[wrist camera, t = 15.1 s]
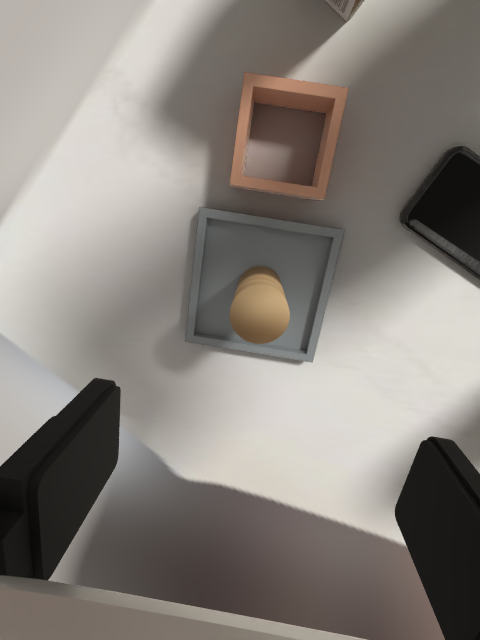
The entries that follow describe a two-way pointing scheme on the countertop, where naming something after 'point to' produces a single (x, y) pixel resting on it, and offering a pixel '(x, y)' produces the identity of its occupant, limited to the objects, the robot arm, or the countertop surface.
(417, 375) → the countertop surface
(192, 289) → the tray
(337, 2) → the coffee box
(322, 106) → the pink hollow square box
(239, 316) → the pin
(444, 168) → the phone
